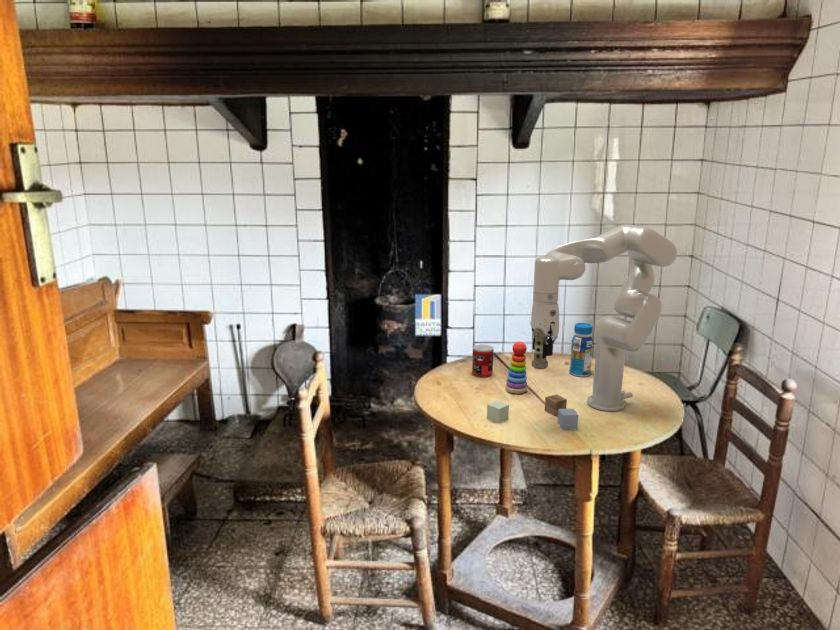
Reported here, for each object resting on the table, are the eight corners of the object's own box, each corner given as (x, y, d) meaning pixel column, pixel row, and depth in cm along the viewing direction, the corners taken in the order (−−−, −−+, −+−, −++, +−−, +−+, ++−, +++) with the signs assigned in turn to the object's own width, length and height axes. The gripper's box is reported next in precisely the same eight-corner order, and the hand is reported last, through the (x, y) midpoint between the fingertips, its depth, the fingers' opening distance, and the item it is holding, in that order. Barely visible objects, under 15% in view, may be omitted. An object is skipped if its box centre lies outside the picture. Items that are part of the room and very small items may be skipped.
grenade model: (554, 370, 198) (557, 323, 194) (532, 369, 199) (534, 323, 195) (551, 362, 205) (554, 318, 200) (530, 362, 205) (532, 317, 201)
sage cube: (496, 414, 213) (497, 400, 212) (508, 418, 210) (508, 404, 209) (486, 418, 210) (487, 404, 209) (498, 423, 207) (499, 409, 205)
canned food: (469, 371, 252) (469, 345, 249) (487, 369, 254) (488, 343, 251) (476, 378, 245) (477, 351, 242) (495, 376, 247) (496, 349, 244)
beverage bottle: (566, 369, 255) (569, 321, 249) (586, 369, 255) (591, 321, 250) (572, 377, 247) (576, 328, 241) (593, 377, 247) (598, 327, 242)
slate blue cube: (572, 422, 208) (573, 408, 206) (577, 429, 203) (578, 415, 202) (557, 423, 207) (558, 408, 206) (561, 429, 203) (562, 415, 201)
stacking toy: (507, 394, 230) (509, 345, 225) (503, 386, 237) (505, 338, 232) (528, 394, 230) (531, 345, 225) (524, 386, 238) (527, 338, 233)
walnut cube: (555, 407, 219) (556, 394, 218) (565, 413, 215) (566, 399, 213) (544, 410, 217) (545, 396, 215) (554, 416, 212) (555, 402, 211)
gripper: (571, 302, 189) (567, 360, 194) (542, 289, 205) (539, 343, 210) (548, 304, 187) (545, 362, 192) (521, 291, 202) (518, 345, 207)
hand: (542, 351), depth 201 cm, fingers closed on grenade model, 5 cm apart
